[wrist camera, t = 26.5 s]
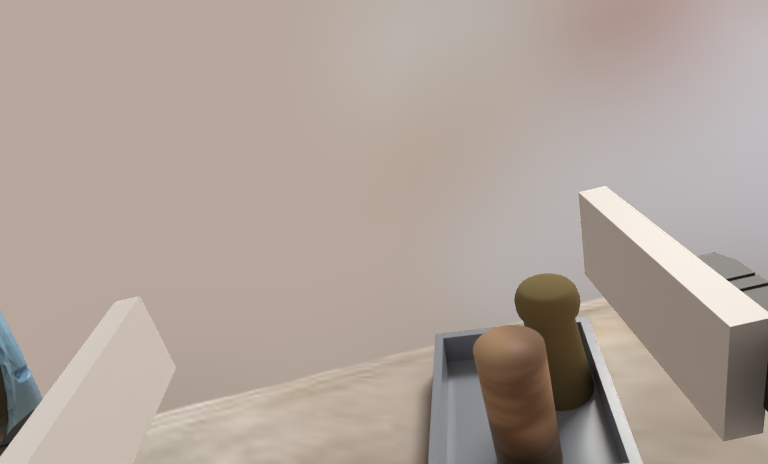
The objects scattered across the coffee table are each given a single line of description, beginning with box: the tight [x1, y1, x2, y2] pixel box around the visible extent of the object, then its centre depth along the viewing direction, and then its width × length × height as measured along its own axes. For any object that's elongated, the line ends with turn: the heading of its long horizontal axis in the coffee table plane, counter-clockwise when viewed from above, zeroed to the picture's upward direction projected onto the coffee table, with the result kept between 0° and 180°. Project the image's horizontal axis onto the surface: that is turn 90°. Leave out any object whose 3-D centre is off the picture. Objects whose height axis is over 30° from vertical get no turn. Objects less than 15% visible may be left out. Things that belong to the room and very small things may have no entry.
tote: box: [428, 316, 643, 464], centre depth 46 cm, size 15×18×4 cm
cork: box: [514, 274, 594, 411], centre depth 46 cm, size 6×6×11 cm
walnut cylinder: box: [473, 325, 563, 464], centre depth 40 cm, size 5×5×11 cm
